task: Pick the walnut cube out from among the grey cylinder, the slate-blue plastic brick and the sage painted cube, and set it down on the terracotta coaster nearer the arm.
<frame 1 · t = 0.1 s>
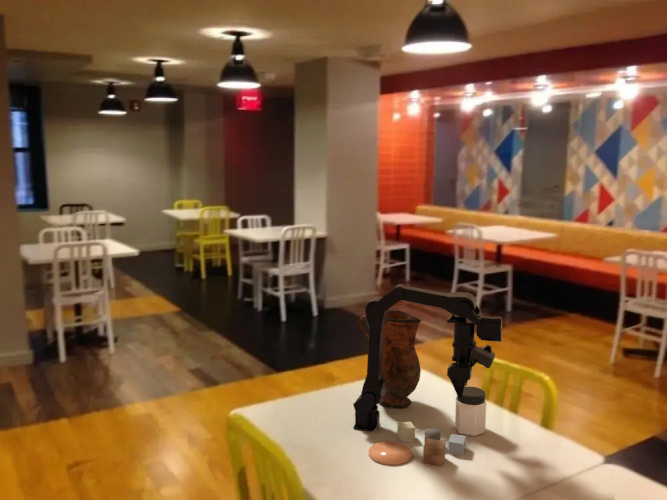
hand: (462, 391, 178), 15 cm above the table, fingers open, 9 cm apart
plastic brick: (456, 450, 174), on the table
coaster: (390, 454, 172), on the table
sage cube: (406, 438, 182), on the table
grey cylinder: (432, 445, 177), on the table
pitcher: (388, 402, 208), on the table
walnut block: (434, 461, 168), on the table
jar: (469, 430, 187), on the table
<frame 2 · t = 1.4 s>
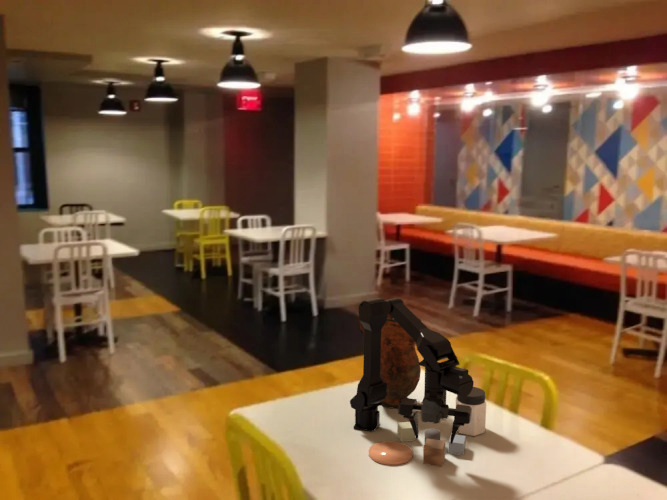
hand: (434, 440, 167), 6 cm above the table, fingers open, 9 cm apart
nothing on the table moved.
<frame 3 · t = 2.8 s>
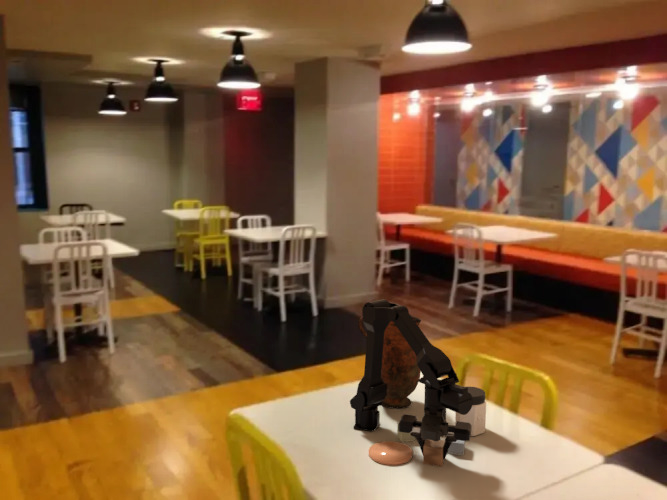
hand: (434, 457, 168), 1 cm above the table, fingers closed on walnut block, 5 cm apart
walnut block: (434, 460, 168), on the table, touching gripper
everything else where it was.
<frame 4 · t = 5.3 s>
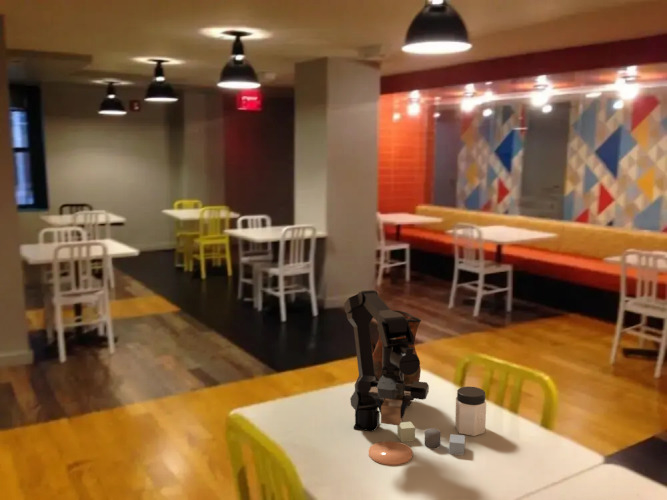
hand: (392, 416, 170), 11 cm above the table, fingers closed on walnut block, 5 cm apart
walnut block: (392, 420, 170), point 10 cm above the table, touching gripper
everything else where it was.
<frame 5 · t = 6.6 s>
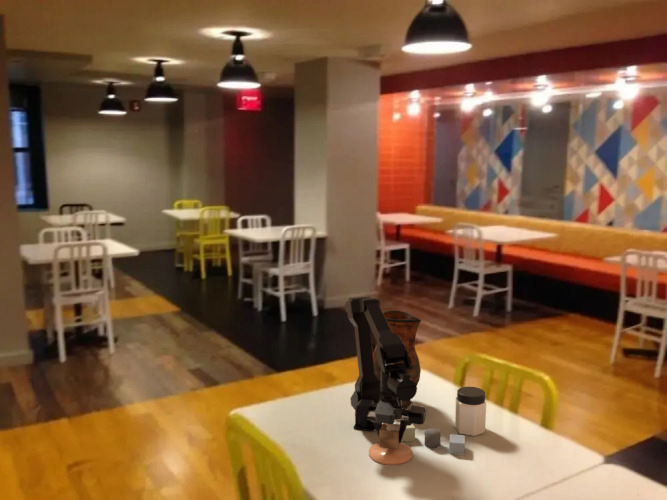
hand: (390, 440, 172), 4 cm above the table, fingers closed on walnut block, 5 cm apart
walnut block: (390, 444, 172), point 3 cm above the table, touching gripper
everything else where it was.
when the fingers open (3 cm above the table, at t = 7.6 s): walnut block stays where it is, resting on coaster.
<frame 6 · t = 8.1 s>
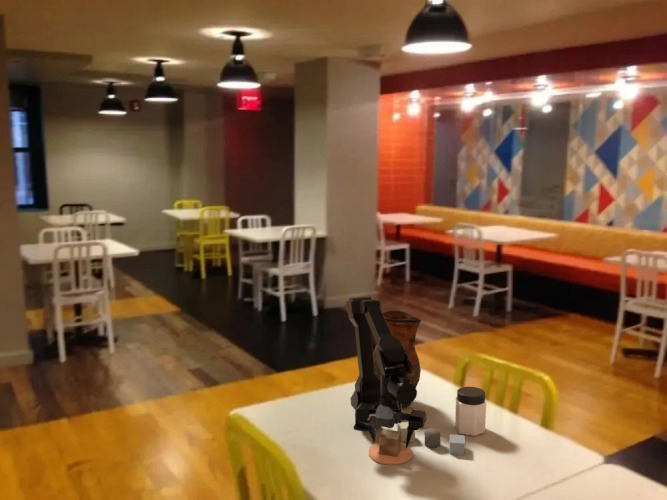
hand: (390, 444, 172), 3 cm above the table, fingers open, 9 cm apart
walnut block: (390, 451, 172), point 1 cm above the table, touching coaster
everything else where it was.
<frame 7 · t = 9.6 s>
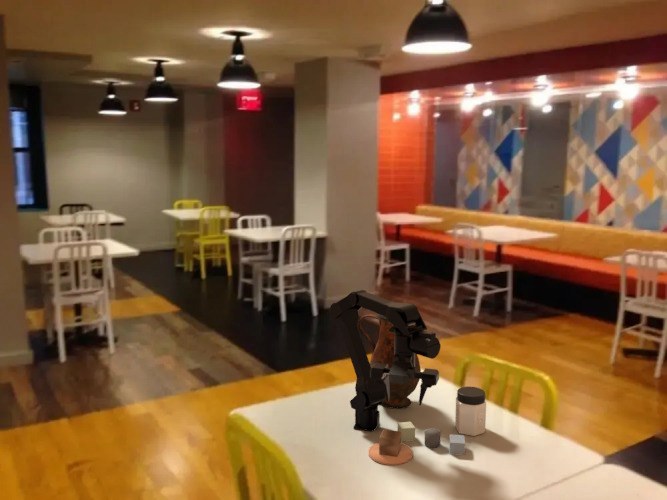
hand: (403, 402, 177), 12 cm above the table, fingers open, 9 cm apart
nothing on the table moved.
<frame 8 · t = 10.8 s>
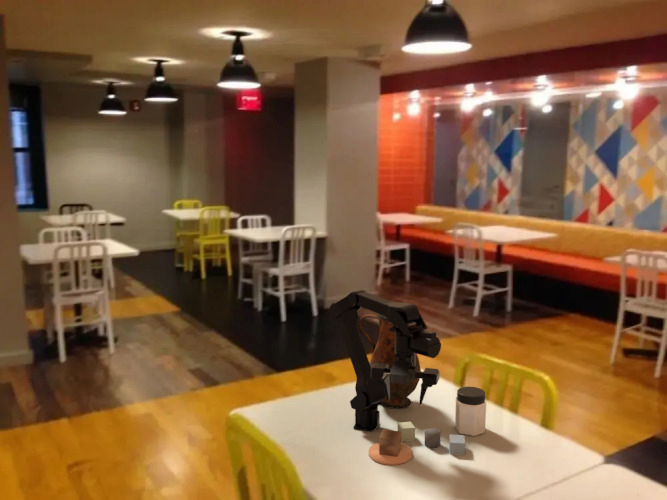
hand: (404, 402, 177), 12 cm above the table, fingers open, 9 cm apart
nothing on the table moved.
at the end: walnut block 0.0 cm off-centre on the coaster, point 0.8 cm above the coaster's base; walnut block tilted 0°; the gripper is holding nothing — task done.
